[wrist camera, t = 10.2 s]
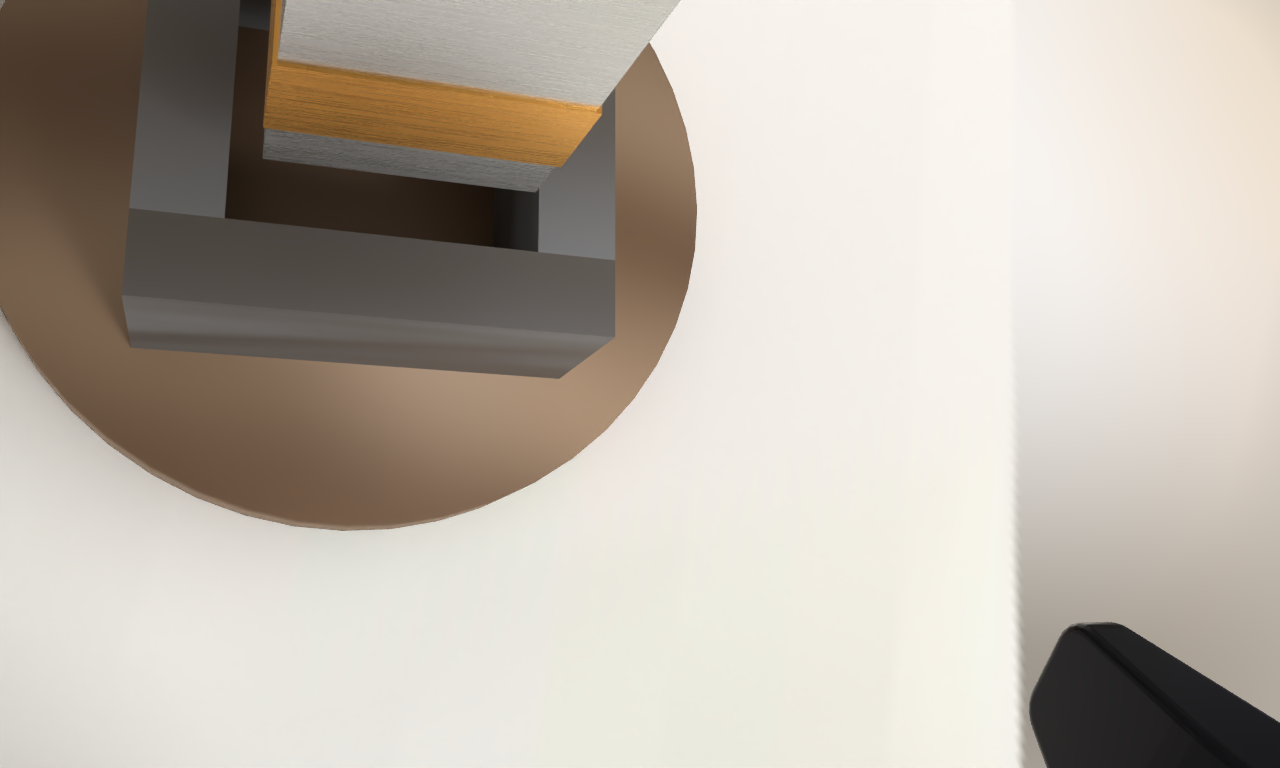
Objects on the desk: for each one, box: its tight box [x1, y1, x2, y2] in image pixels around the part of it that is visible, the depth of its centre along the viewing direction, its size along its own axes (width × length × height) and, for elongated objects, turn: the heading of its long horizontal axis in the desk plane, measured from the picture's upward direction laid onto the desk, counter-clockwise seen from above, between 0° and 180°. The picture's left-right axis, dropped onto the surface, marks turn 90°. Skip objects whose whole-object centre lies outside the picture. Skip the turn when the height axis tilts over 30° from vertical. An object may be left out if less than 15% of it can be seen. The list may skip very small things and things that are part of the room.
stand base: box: [0, 0, 697, 531], centre depth 20 cm, size 12×12×4 cm
